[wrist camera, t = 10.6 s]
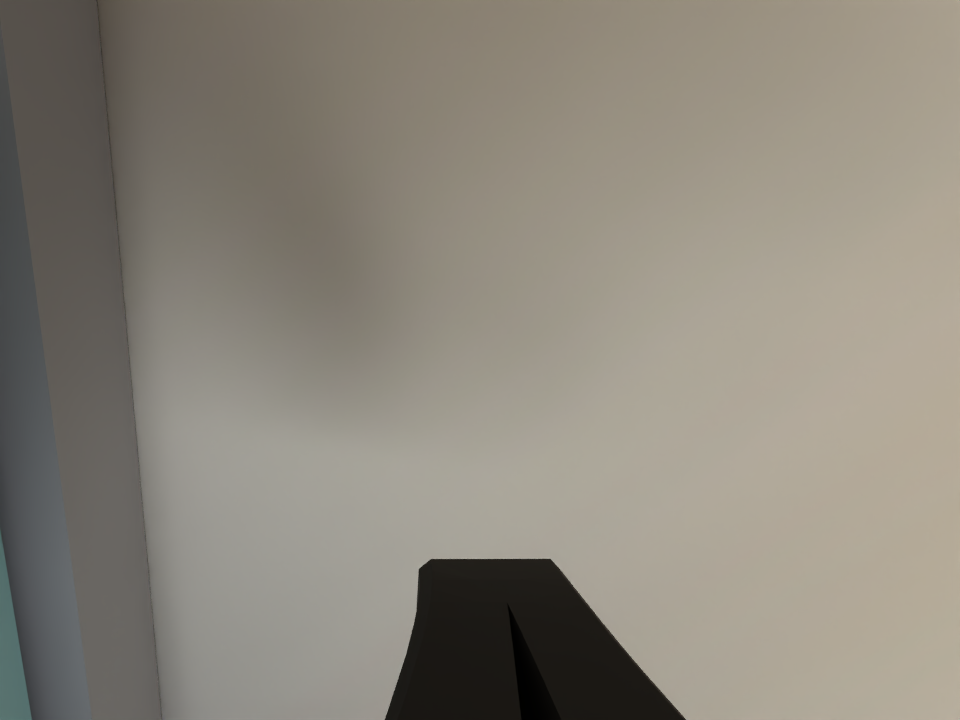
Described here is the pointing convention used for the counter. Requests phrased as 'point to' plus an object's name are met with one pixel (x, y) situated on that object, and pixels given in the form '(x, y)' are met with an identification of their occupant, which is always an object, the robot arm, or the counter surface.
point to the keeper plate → (10, 656)
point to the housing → (67, 381)
